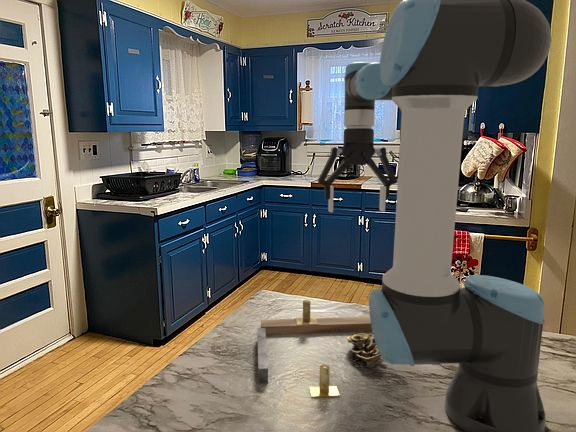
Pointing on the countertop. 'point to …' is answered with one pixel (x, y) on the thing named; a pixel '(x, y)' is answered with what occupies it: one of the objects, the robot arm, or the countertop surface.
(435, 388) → the countertop surface
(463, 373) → the robot arm
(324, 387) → the near post
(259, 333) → the end stop
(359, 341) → the mushroom
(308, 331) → the beam plank
